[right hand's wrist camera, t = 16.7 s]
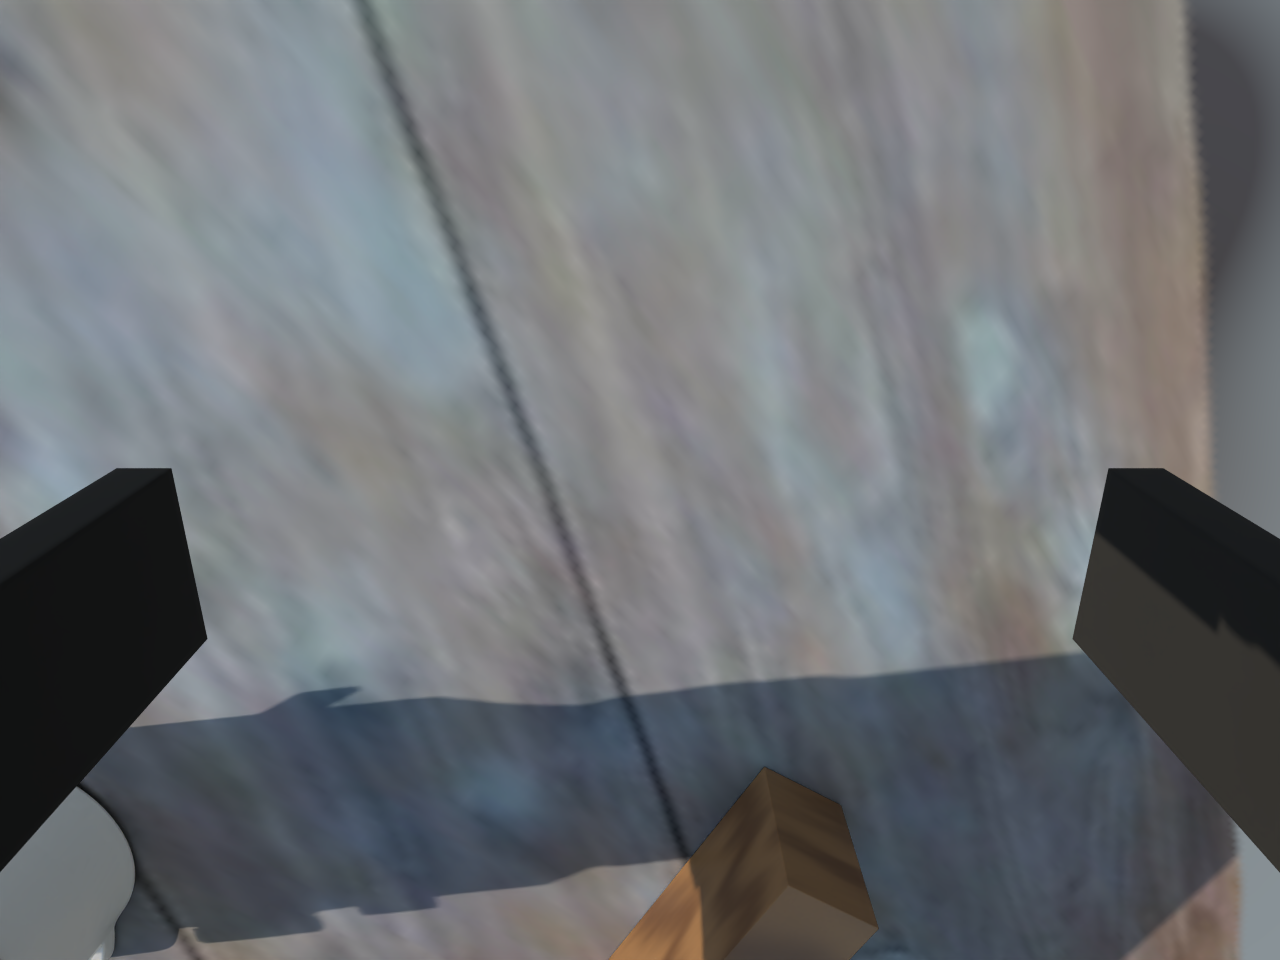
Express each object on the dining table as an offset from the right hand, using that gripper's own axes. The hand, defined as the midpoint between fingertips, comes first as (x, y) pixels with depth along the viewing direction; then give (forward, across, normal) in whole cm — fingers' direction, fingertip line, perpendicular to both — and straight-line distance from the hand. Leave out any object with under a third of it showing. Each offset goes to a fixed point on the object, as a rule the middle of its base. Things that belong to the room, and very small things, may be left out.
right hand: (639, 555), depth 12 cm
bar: (+29, +4, -38) cm, 48 cm away
